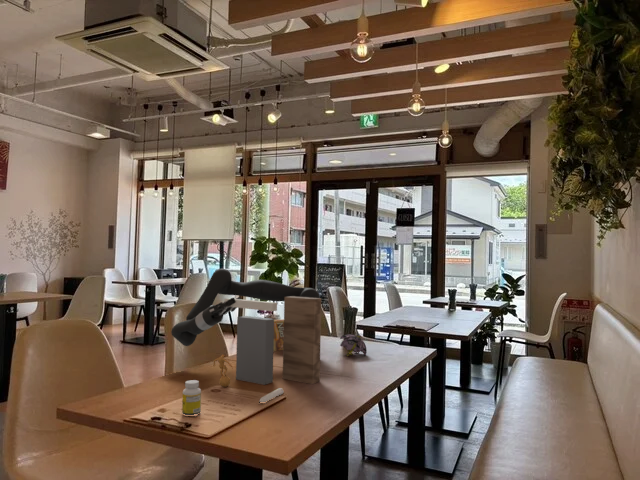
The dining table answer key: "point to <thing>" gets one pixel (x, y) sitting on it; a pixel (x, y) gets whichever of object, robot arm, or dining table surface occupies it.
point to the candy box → (278, 334)
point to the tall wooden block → (302, 339)
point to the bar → (254, 304)
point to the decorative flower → (353, 344)
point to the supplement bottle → (191, 398)
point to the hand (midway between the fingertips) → (237, 299)
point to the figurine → (224, 379)
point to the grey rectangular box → (255, 349)
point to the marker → (271, 395)
